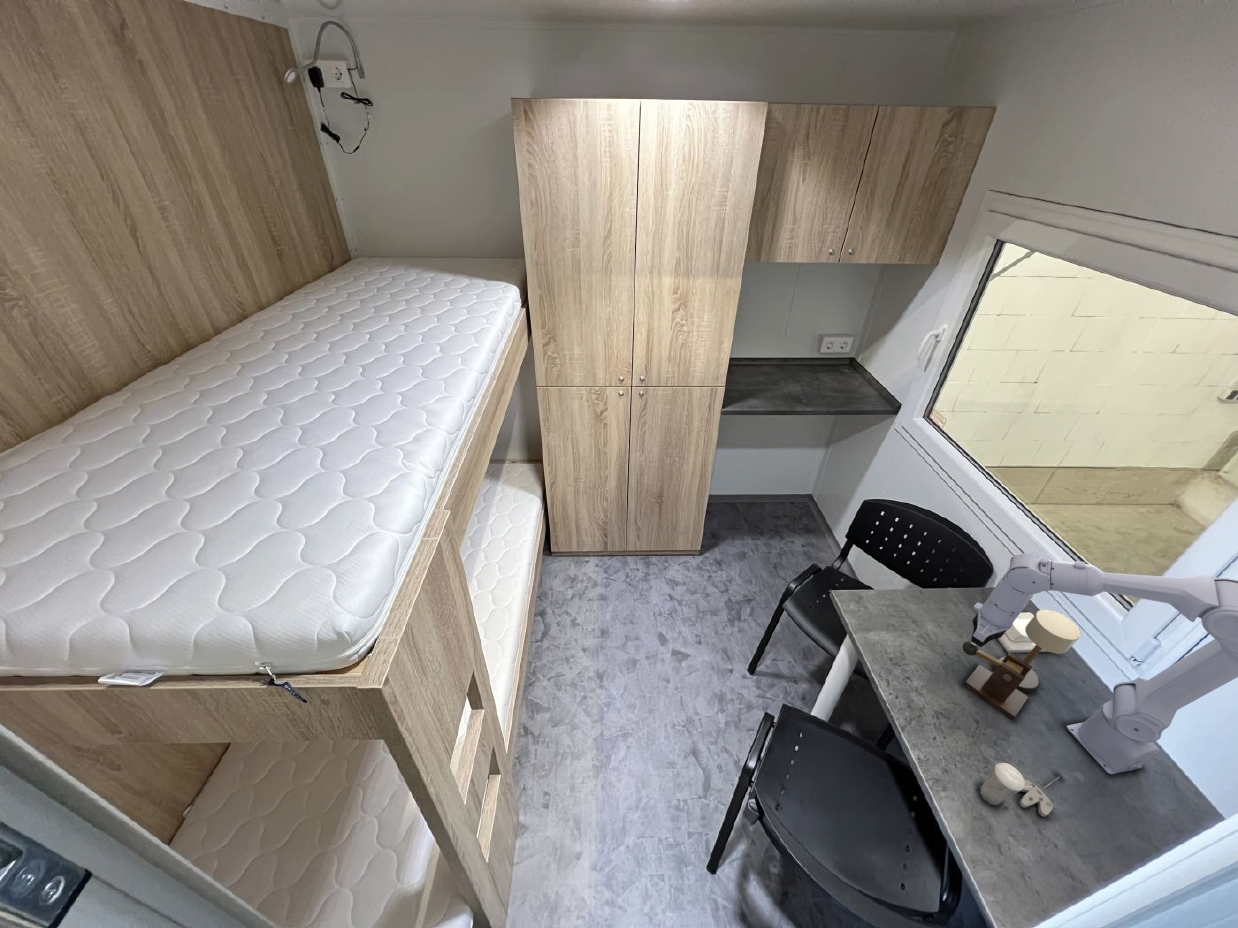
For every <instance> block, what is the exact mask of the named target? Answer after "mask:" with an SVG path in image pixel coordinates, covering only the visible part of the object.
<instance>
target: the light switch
mask: <svg viewBox="0 0 1238 928" xmlns="http://www.w3.org/2000/svg"><path fill="white" fill-rule="evenodd" d="M1034 616H1035V614H1033V613H1032V612H1030V611H1029V612H1021V613H1020V614H1019V615H1018V617H1017V618H1016V619H1015V621H1014V622H1013V625H1012V627H1011V628H1010V629H1008V630H1007V631H1006V632H1004V635H1003V636H1002V637H1001V638H999V639H997V641H999V643H1000V644H1001V646H1002V647H1003V648H1004V650H1005V651H1006V652H1007V654H1008V653H1009V652H1010V653H1012V654H1015V653H1019V654H1020V653H1030V651H1031V650H1032V649H1033V648H1034V647H1035V645H1036V644H1035V643H1033V642H1032V641H1031V640H1030V639H1029V637H1028V636H1027V634H1026V631H1025V628H1026V626H1027V625H1028V623H1029V622H1030V621H1031V620H1032V618H1033V617H1034ZM1039 653H1050V652H1049V651H1046V650H1044V649H1042V650H1041V651H1040V652H1039Z"/></svg>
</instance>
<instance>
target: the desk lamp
mask: <svg viewBox="0 0 1238 928" xmlns="http://www.w3.org/2000/svg"><path fill="white" fill-rule="evenodd" d="M1025 631H1026V634H1027V636H1028V637H1029V639H1030V640H1031V641H1032V642H1033V643H1035V644H1036V645H1035V647H1034V648H1033V649H1032V650H1031V651H1030V652H1028V654H1027V655H1026V656H1025V657H1024V658H1023V661H1024V662H1026V663H1027V664H1029V665H1030V664H1031V663H1032V662H1033V661H1034V659H1035V658H1036V657H1037V656H1038V655H1039V653H1041V652H1040V651H1041V650H1042V649H1044V650H1046V651H1049V652H1048V653H1052V654H1057V655H1061V654H1065V653H1067V652H1068V651H1069V650H1070V649H1071V648H1072V647H1073V645H1074V644H1075V643H1076V642H1077V641H1079V639H1080V638H1081V636H1082V632H1081V629H1080V628H1079V626H1078V625H1077V624H1076V622H1074V621H1073V620H1072V619H1071V618H1070V617H1068V616H1067V615H1064V614H1062V613H1060V612H1058V611H1055V610H1051V609H1039V610H1038V611H1037V612H1036V613H1035V614H1034V617H1033V618H1032V620H1031V621H1030V622H1029V623H1028V625H1027V626H1026V628H1025ZM1005 657H1006V656H1001V657H999V658H998V659H999V660H1000V661H1003V660H1004V658H1005ZM993 667H994V668H993V669H994V671H995V670H996V668H997V667H998V666H996V665H994V666H993ZM1039 683H1040V681H1039V677H1038V675H1037V673H1036V672H1035V671H1034V669H1033V667H1032V668H1031V670H1030V671H1029V672H1028V673H1027V674H1026V676H1025V679H1024V680H1023V681H1022V682H1021V683H1020V685H1019V686H1018V687H1017V688H1016V689H1017V690H1019V691H1020V692H1022V693H1031V692H1033V691H1034V690H1035V689H1036V688H1037V687H1038V686H1039Z"/></svg>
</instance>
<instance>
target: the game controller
mask: <svg viewBox="0 0 1238 928" xmlns="http://www.w3.org/2000/svg"><path fill="white" fill-rule="evenodd" d="M1060 778H1061V777H1060V776H1057V778H1055V779H1053V781H1051V782H1050V783H1048V784H1046V785H1045V786H1044V787H1043V788H1041V789H1040V788H1039V787H1038V786H1037V785H1036V784H1034V783H1033V782H1032V781H1030V780H1028V779H1025V778H1024V780H1025V786H1032V785H1035V787H1031V788H1023V789H1022V790H1021V791H1020V792H1022V793H1025V794H1024V795H1023V796H1022V798H1021V799H1020V801H1019V806H1020V807H1021V808H1025V809H1026V808H1028V807H1031V806H1034V805H1036V804H1037V811H1038V814H1039V815H1040V816H1041V817H1047V816H1048V815H1050V813H1051V812H1052V810H1053V808H1054V806H1053V805H1054V804H1053V803H1052V801H1051V800H1050V798H1049V797H1048V796H1047V795H1046V793H1044V792H1043V790H1044V789H1046V788H1047V787H1049V786H1050V785H1051V784H1053V783H1054V782H1056V781H1057V780H1058V779H1060Z"/></svg>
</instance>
